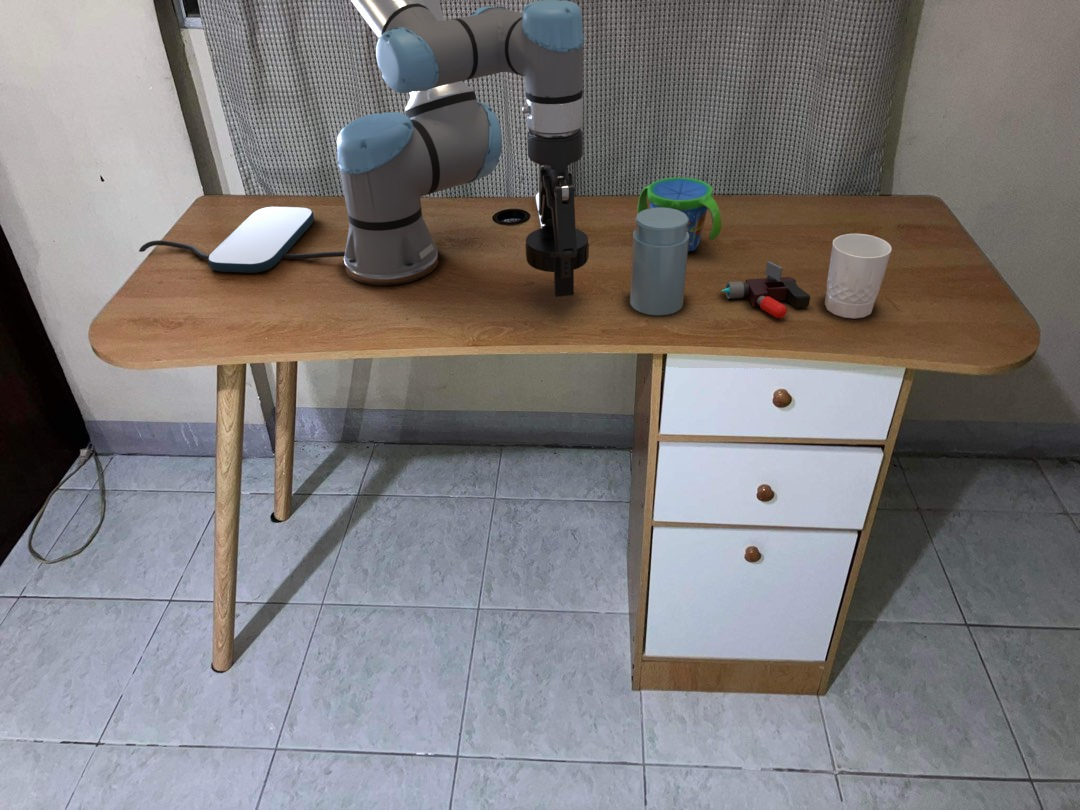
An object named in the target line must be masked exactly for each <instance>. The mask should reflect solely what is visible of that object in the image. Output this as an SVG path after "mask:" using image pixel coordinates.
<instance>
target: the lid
mask: <svg viewBox="0 0 1080 810" xmlns="http://www.w3.org/2000/svg"><path fill="white" fill-rule="evenodd" d="M576 246H577V257H574V270H578V269H580V268H581V267H583V266H585V265H586V264H587V263H588V260H589V257H590V256H589V255H590V252H589V251H590V244H589V236H588V235H587V234H586V233H585V232H584V231H582V230H580V229H577V228H576ZM551 253H555V241H554V231H553V227H546V228H541V227H540V228H538V229H536V230H533V231H532V232H530V233H529V234H527V236H526V237H525V258H526V262H527V264H528V265H529V266H530V267H532V268H533V269H536V270H538V271H542V272H547V273H554V258H551Z"/></svg>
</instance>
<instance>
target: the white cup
mask: <svg viewBox="0 0 1080 810" xmlns="http://www.w3.org/2000/svg"><path fill="white" fill-rule="evenodd" d="M892 250H893V248H892V245H891V244H890V243H889V242H888V241H886V239H885V240H884V239H883V238H881V237H878V236H875V235H871V234H867V233H845V234H841V235H839V236H835V238H834V239H832V244H831V250H830V251H831V252H830V256H829V257H830V259H829V264H828V272H827V281H826V293H825V298H824V306H825V308H826V310H827V311H828V312H830V313H831V314H832V315H835V316H838V317H841V318H846V319H862V318H866V317H868V316H870V315H871V314H872V312H873V309H874V307H875V303H876V299H877V297H878V296H879V294H880V289H881V286H882V284H883V281H884V278H885V274H886V270H887V267H888V263H889V260H890V257H891V255H892Z"/></svg>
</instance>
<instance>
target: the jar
mask: <svg viewBox="0 0 1080 810" xmlns="http://www.w3.org/2000/svg"><path fill="white" fill-rule="evenodd" d="M688 219H689V218H688V217H687V215H686V214H685V213H683V212H681V211H679V210H676V209H671V208H650V207H649V208H648V209H646V210H643V211H641V212H639V213H638V212H637V214H636V216H635V229H634V231H633V232H632V246H631V266H630V267H631V268H630V292H629V304H630V306H631V307H632V308H633V309H634V310H635V311H637V312H639V313H641V314H645V315H648V316H649V315H650V316H667V315H671V314H674V313H676V312H678V311H680V310H681V309H682V308H683V306H684V301H685V291H686V290H685V288H686V278H687V267H688V257H689V256H688V255H689V252H688V244H689V233H688V232H687V223H688Z"/></svg>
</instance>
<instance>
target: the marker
mask: <svg viewBox="0 0 1080 810" xmlns="http://www.w3.org/2000/svg"><path fill="white" fill-rule="evenodd" d="M535 203H536V208H537V214H538V219H539V222H540V229H541V228H542V226H545V224H542V222H541V216H540V215H539V212H538V210H539V191H538V192H537V193H536V195H535Z"/></svg>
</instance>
